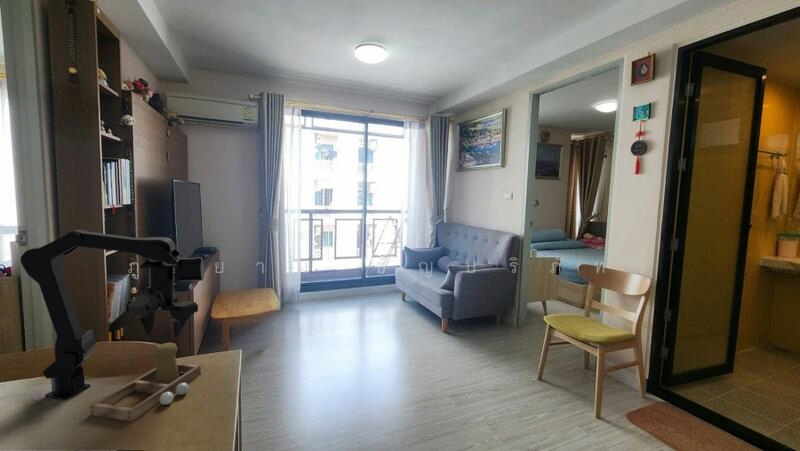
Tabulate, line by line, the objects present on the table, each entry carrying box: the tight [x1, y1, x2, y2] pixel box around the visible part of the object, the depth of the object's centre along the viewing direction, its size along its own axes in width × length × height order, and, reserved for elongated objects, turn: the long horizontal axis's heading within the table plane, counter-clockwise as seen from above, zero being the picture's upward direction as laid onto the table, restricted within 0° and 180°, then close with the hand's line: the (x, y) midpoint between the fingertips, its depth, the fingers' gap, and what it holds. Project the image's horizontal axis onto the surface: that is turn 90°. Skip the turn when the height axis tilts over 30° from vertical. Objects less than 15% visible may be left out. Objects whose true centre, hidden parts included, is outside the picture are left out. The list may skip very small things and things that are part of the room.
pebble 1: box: [159, 392, 175, 406], centre depth 87 cm, size 3×3×3 cm
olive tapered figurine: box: [154, 342, 180, 384], centre depth 97 cm, size 6×6×11 cm
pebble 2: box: [175, 383, 189, 396], centre depth 92 cm, size 3×3×3 cm
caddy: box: [90, 362, 202, 422], centre depth 92 cm, size 12×22×2 cm, turn 171°
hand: (163, 335), depth 98 cm, fingers open, 9 cm apart
